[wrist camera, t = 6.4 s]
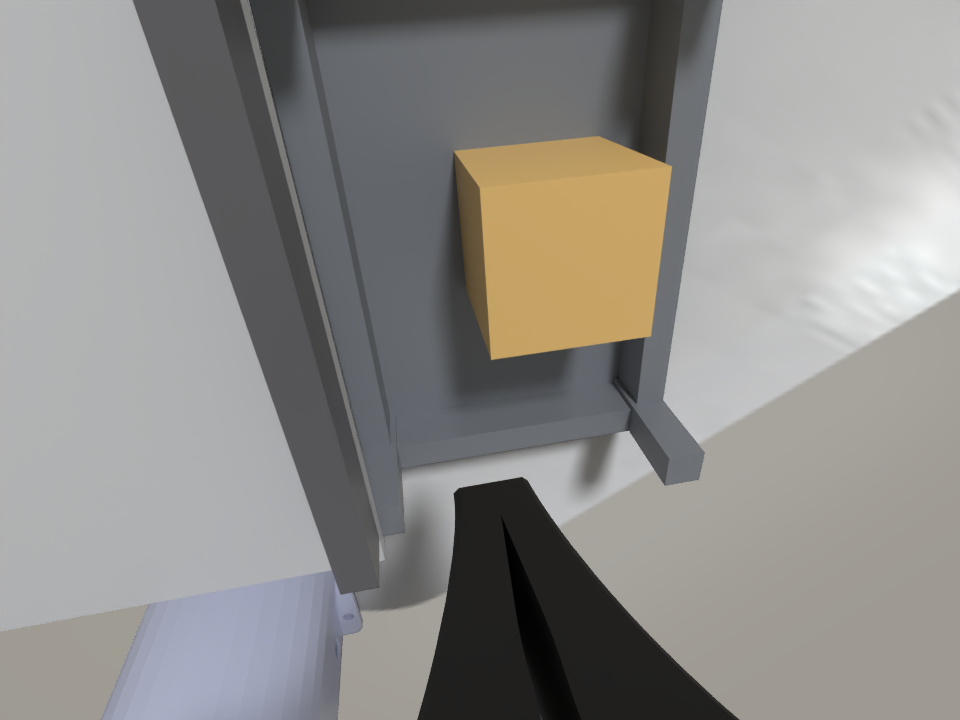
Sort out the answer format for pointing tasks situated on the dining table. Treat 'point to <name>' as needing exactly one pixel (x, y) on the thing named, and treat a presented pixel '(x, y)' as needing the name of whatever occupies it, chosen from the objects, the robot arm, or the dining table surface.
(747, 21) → the dining table surface
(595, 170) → the block
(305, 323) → the lid
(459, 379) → the case
